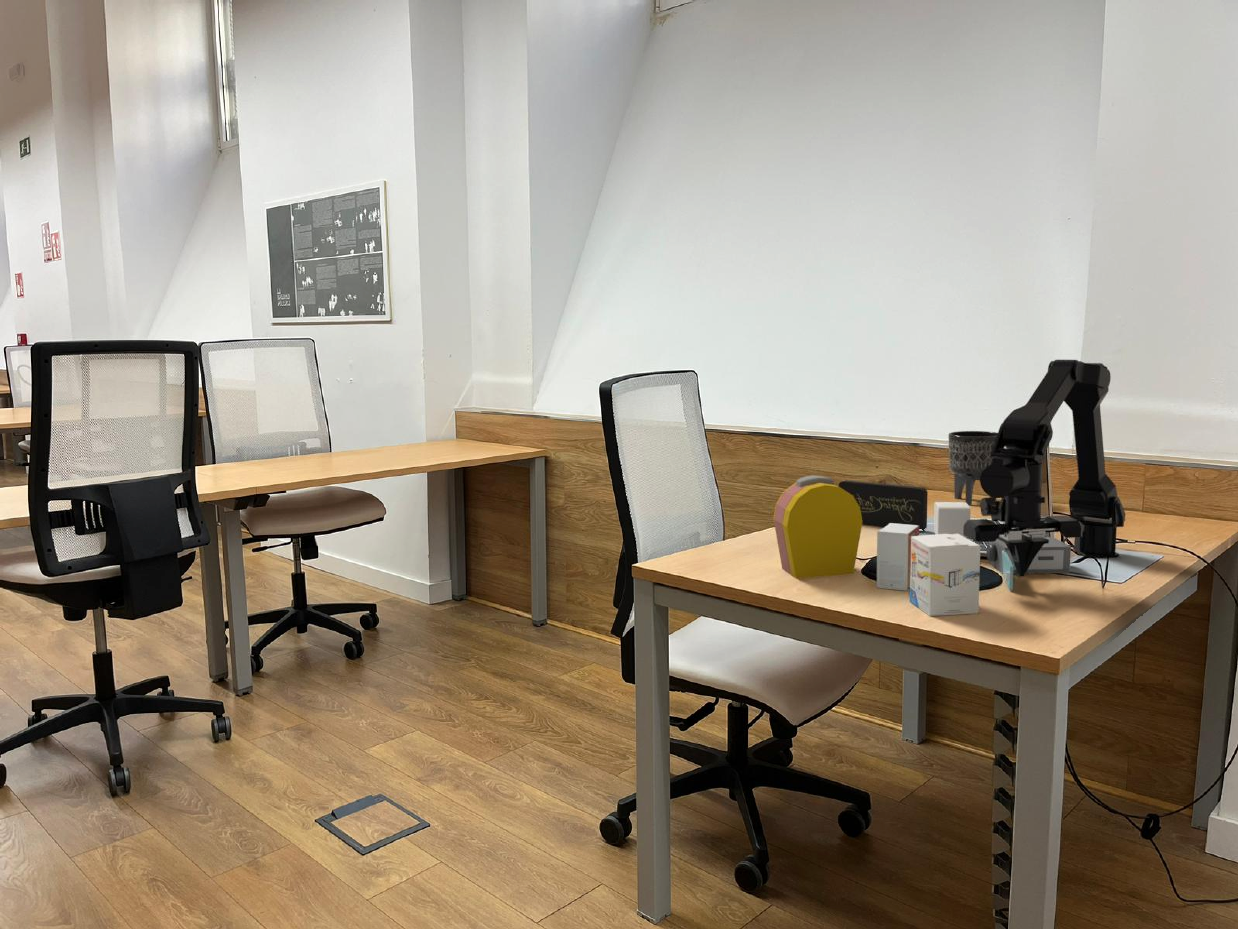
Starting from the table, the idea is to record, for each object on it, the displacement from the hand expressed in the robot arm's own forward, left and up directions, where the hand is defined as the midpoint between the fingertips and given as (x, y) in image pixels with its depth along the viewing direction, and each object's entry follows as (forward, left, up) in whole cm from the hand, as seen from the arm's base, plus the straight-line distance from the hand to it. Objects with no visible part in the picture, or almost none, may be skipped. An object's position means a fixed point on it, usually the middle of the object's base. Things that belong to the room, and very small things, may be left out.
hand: (1020, 576), depth 162 cm
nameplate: (+12, -52, -3) cm, 54 cm away
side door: (+1, -4, -2) cm, 5 cm away
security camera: (+4, -27, -3) cm, 27 cm away
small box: (+20, -4, -3) cm, 21 cm away
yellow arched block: (+33, -14, -3) cm, 36 cm away
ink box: (+16, +10, -3) cm, 19 cm away
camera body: (-7, -14, -2) cm, 16 cm away
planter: (-18, -80, -3) cm, 82 cm away
